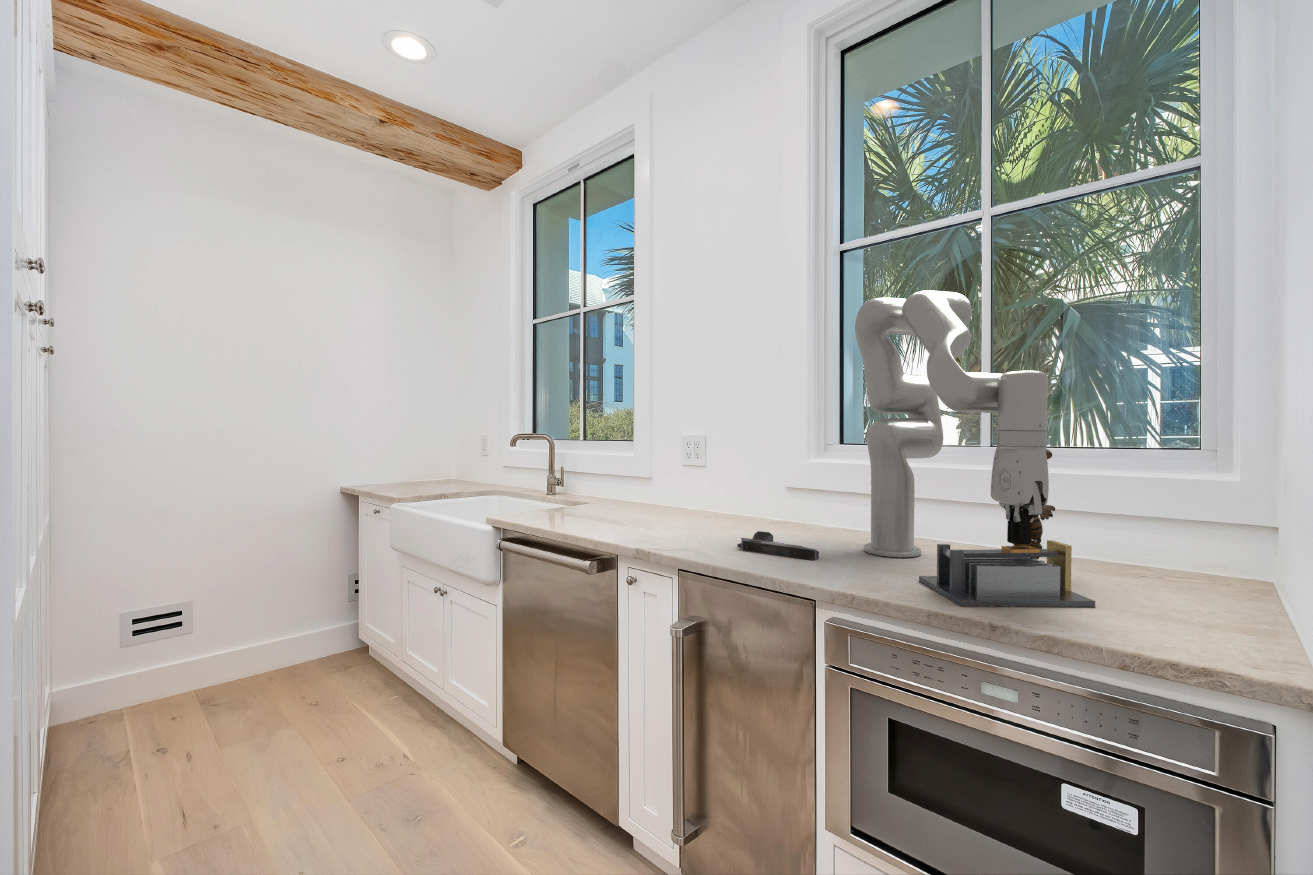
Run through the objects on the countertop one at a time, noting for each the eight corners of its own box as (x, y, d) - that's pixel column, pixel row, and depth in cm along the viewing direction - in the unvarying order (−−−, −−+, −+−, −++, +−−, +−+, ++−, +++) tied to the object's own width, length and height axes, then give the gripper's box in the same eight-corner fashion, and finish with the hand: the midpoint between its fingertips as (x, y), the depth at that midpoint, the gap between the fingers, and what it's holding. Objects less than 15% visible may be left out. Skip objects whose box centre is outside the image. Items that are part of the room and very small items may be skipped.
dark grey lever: (951, 560, 103) (951, 550, 103) (941, 555, 107) (941, 546, 107) (1058, 559, 103) (1058, 549, 103) (1044, 554, 107) (1044, 545, 107)
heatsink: (961, 606, 97) (961, 552, 97) (918, 581, 113) (919, 534, 113) (1095, 606, 97) (1096, 552, 97) (1033, 581, 113) (1034, 534, 113)
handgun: (755, 530, 153) (732, 538, 143) (833, 540, 140) (813, 549, 131) (755, 543, 153) (732, 551, 143) (833, 553, 140) (813, 564, 131)
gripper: (977, 439, 112) (975, 535, 113) (1026, 442, 97) (1023, 552, 98) (1017, 439, 112) (1014, 535, 113) (1071, 442, 97) (1068, 553, 98)
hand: (1018, 543), depth 106 cm, fingers closed
